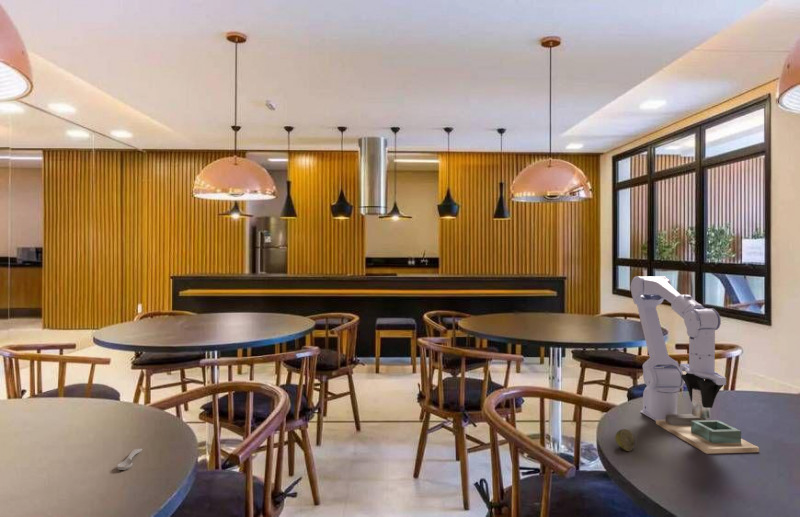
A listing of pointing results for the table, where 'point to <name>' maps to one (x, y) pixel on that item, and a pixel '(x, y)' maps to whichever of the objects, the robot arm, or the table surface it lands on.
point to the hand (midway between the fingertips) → (701, 404)
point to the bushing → (698, 404)
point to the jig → (706, 434)
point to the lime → (625, 439)
